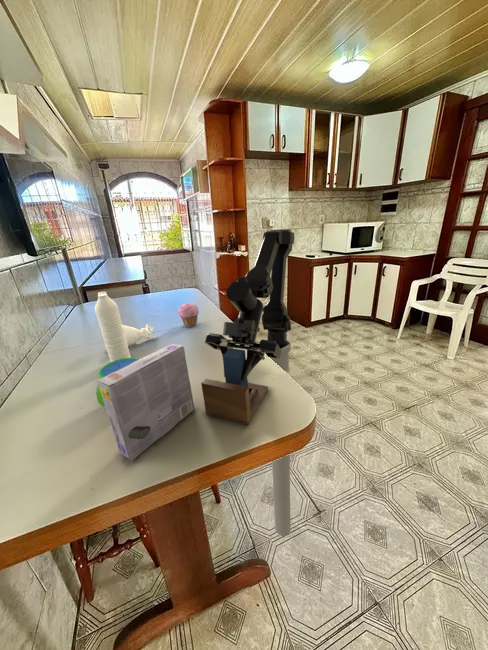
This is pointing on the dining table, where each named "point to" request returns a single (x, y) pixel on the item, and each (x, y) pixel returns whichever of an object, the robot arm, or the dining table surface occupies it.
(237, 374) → the back pad
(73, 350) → the dining table surface
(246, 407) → the pad seat
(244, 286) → the robot arm
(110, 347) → the water bottle
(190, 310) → the cupcake
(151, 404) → the cake pan box
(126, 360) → the snack cup
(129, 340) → the rocket engine
